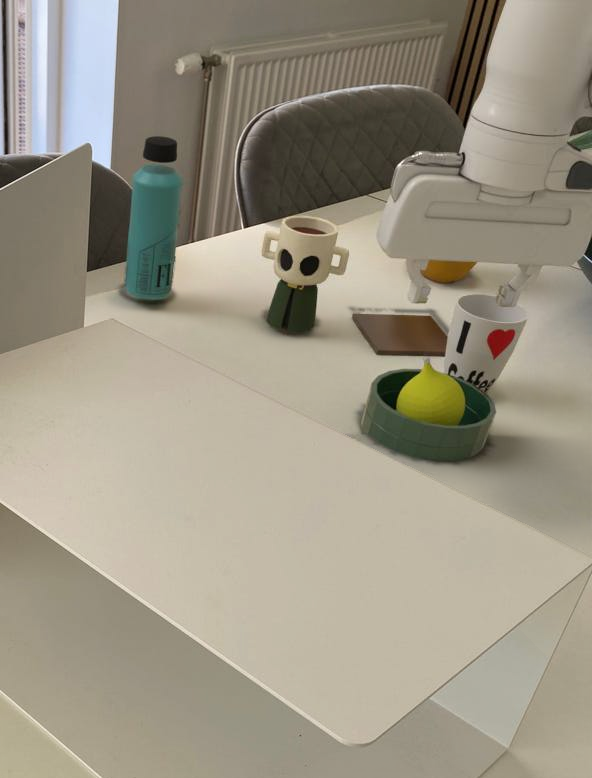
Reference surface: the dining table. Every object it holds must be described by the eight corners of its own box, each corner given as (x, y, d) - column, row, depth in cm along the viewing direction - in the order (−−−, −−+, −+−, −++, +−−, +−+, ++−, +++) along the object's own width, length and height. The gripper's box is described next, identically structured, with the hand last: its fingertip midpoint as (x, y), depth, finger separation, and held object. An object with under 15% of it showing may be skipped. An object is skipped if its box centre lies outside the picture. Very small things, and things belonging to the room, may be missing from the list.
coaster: (429, 319, 135) (430, 315, 134) (459, 356, 127) (460, 352, 126) (351, 317, 133) (352, 313, 133) (376, 354, 125) (377, 350, 125)
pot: (454, 409, 116) (468, 369, 112) (499, 470, 106) (516, 429, 102) (346, 408, 114) (356, 367, 111) (381, 469, 104) (394, 427, 101)
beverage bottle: (154, 315, 129) (172, 150, 116) (112, 301, 131) (124, 138, 118) (179, 300, 133) (199, 139, 120) (138, 287, 136) (152, 127, 122)
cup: (427, 393, 118) (452, 312, 111) (436, 366, 124) (460, 288, 117) (496, 410, 116) (526, 328, 110) (502, 382, 122) (531, 303, 115)
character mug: (241, 326, 128) (258, 223, 120) (258, 307, 133) (276, 207, 125) (322, 347, 125) (346, 243, 117) (336, 327, 130) (360, 226, 122)
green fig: (375, 425, 110) (399, 340, 104) (424, 414, 113) (450, 330, 107) (417, 456, 106) (445, 370, 99) (467, 444, 109) (497, 359, 102)
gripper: (412, 160, 87) (371, 312, 96) (627, 173, 90) (567, 320, 99) (389, 139, 91) (352, 286, 101) (594, 152, 94) (540, 294, 103)
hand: (460, 303), depth 100 cm, fingers open, 8 cm apart
